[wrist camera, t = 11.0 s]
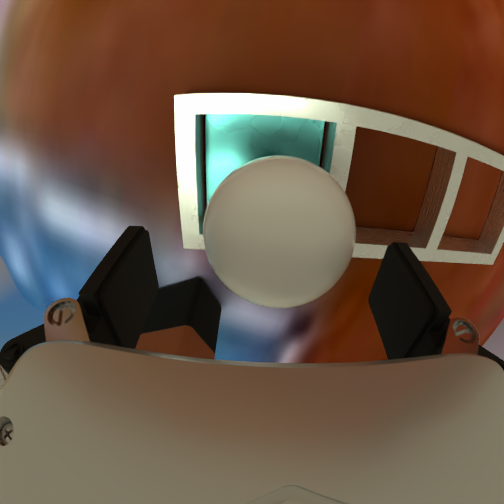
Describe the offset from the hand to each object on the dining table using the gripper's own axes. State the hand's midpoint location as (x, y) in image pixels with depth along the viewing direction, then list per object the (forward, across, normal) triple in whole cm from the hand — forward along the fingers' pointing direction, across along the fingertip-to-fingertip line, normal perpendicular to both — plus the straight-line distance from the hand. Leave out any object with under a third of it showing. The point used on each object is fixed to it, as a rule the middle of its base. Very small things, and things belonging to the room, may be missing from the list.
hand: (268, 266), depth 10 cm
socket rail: (+10, -9, -1) cm, 13 cm away
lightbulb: (+10, 0, -1) cm, 10 cm away
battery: (+10, +7, +12) cm, 17 cm away
